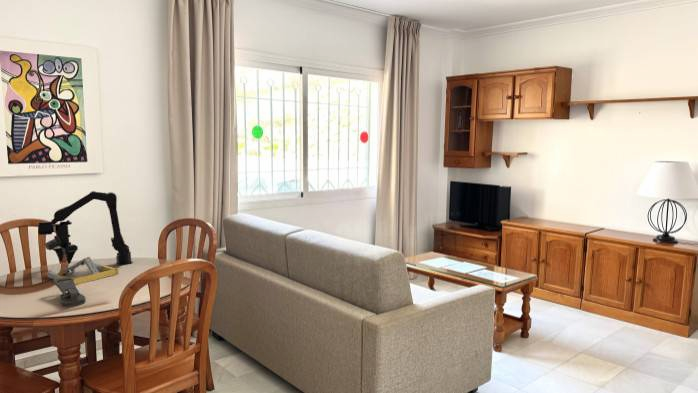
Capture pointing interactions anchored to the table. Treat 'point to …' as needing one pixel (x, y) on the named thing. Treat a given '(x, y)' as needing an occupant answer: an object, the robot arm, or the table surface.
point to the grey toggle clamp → (69, 292)
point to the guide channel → (108, 272)
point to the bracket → (72, 268)
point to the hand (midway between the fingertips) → (64, 262)
